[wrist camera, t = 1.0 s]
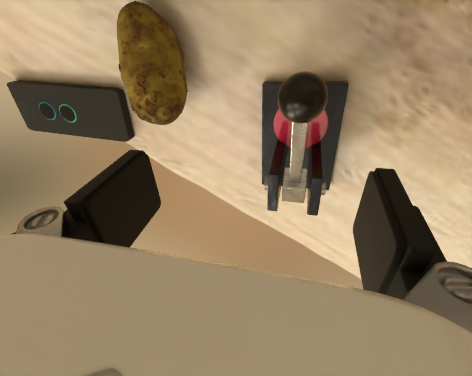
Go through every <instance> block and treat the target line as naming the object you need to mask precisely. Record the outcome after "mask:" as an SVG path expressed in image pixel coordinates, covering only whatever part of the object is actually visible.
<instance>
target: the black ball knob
mask: <svg viewBox="0 0 472 376" xmlns="http://www.w3.org/2000/svg"><path fill="white" fill-rule="evenodd" d="M327 101H328V90H327V87H326V84H325V83H324V81H323V80H322V79H321V78H320V77H319V76H318V75H316V74H314V73H311V72H299V73H296V74H293V75H292V76H290V77H289V78H287V79H286V80H285V82H284V83H283V84H282V86H281V88H280V90H279V93H278V107H279V109H280V112H281V113H282V115H283V116H284V117H285V118H286V119H288V120H289V121H291V122H292V134H291V153H290V168H286V167H285V171H284V179H283V191H282V201H289V202H299V203H304V198H305V192H306V182H307V169H302V167H303V159H304V151H305V143H306V135H307V127H308V122H311V121H313V120H315V119H316V118H317V117H318V116H320V114H321V113H322V112H323V111H324V109H325V107H326V104H327Z"/></svg>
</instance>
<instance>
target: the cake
mask: <svg viewBox="0 0 472 376" xmlns="http://www.w3.org/2000/svg"><path fill="white" fill-rule="evenodd" d="M327 127H328V116H327V112H326V109H324V111H323V112H322V113H321V114H320V116H318V117H317V118H316V119H315V120H313V121H311V122H308V127H307V135H306V143H305V148H308V147H311V146H312V144H316V143H318V142H319V141H320V140H321V139H322V138H323V136H324V135H325V133H326V131H327ZM274 131H275V134H276V136H277V137H278V139H279V140H280V141H281V142H282V143H285V145H286V146H288V147H291V134H292V122H291V121H289V120H288V119H286V118H285V117H284V116H283V115H282V113H281V112H280V109H278V110H277V112H276V115H275V118H274Z"/></svg>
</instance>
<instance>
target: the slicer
mask: <svg viewBox="0 0 472 376" xmlns="http://www.w3.org/2000/svg"><path fill="white" fill-rule="evenodd" d="M283 83H284V82H264V83H263V97H262V184H264V188H265V190H268V208H267V209H268V210H271V211H277V208H278V203H279V197H280V191H281V186H283V179H284V171H285V167H286V168H290V153H291V147H288V146H286V145H285V143H282V142H281V141H280V140H279V139H278V137H277V136H276V134H275V131H274V118H275V115H276V112H277V110H278V109H279V107H278V93H279V90H280V88H281V86H282V84H283ZM324 83H325V84H326V87H327V90H328V101H327V104H326V107H325V109H326V112H327V116H328V127H327V131H326V133H325V135H324V136H323V138H322V139H321V140H320V141H319V142H318V143H316V144H312V146H311V147H308V148H305V151H304V159H303V167H302V169H307V182H306V188H308V201H307V214H308V215H318V209H319V203H320V197H321V195H325V192H326V190H329V187H330V181H331V176H332V170H333V165H334V160H335V154H336V149H337V143H338V138H339V133H340V127H341V122H342V117H343V111H344V106H345V100H346V95H347V90H348V82H347V81H338V82H324Z"/></svg>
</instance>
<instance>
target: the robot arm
mask: <svg viewBox="0 0 472 376" xmlns="http://www.w3.org/2000/svg"><path fill="white" fill-rule="evenodd" d="M64 203H65V205H66V207H67V210H66V211H65V212H64V211H63V209H62V208H60V207H56V206H52V207H46V208H42V209H39V210H36V211H35V212H32V213H30V214H29V215H27V216H26V217H24V219H22V220H21V221H20V223H19V225H18V228H17V231H16V232H15V233H12V234H9V235H2V236H0V376H472V268H470V267H467V266H465V265H462V264H458V263H455V262H447V261H446V259H445V257H444V255H443V253H442V251H441V249H440V247H439V246H438V244H437V242H436V240H435V238H434V236H433V234H432V232H431V230H430V229H429V227H428V225H427V223H426V221H425V219H424V217H423V215H422V213H421V212H420V210H419V209H418V207H416V206H413V205H412V203H411V201H410V199H409V197H408V195H407V193H406V191H405V189H404V187H403V185H402V183H401V181H400V179H399V177H398V176H397V174H396V172H395V170H394V169H383V168H376V169H375V171H374V172H372V171H370V172H369V174H368V177H367V181H366V184H365V188H364V191H363V194H362V198H361V201H360V204H359V208H358V211H357V215H356V218H355V221H354V225H353V234H354V240H355V245H356V251H357V256H358V262H359V267H360V273H361V278H362V284H363V289H364V290H362V289H358V288H353V287H349V286H343V285H339V284H334V283H329V282H323V281H318V280H312V279H307V278H302V277H297V276H291V275H285V274H279V273H273V272H268V271H263V270H257V269H251V268H246V267H240V266H234V265H229V264H223V263H217V262H211V261H206V260H199V259H193V258H188V257H182V256H176V255H170V254H164V253H159V252H153V251H147V250H141V249H135V248H129V247H130V246H131V245H132V244H133V242H134V241H135V240H136V238H137V237H138V236H139V234H140V233H141V232H142V230H143V229H144V228H145V226H146V225H147V224H148V222H149V221H150V220H151V218H152V217H153V216H154V214H155V213H156V212H157V211H158V209H159V208H160V205H161V200H160V196H159V192H158V189H157V186H156V181H155V178H154V174H153V171H152V167H151V163H150V159H149V156H148V155H147V154H145V152H144V151H140V150H129V151H128V152H127V153H125V154H124V155H123V156H121V157H120V158H119V159H118V160H117V161H115V162H114V163H113V164H111V165H110V166H109V167H107V168H106V169H105V170H104V171H102V172H101V173H100V174H99V175H97V176H96V177H95V178H93V179H92V180H91V181H90V182H88V183H87V184H86V185H85V186H83V187H82V188H81V189H79V190H78V191H77V192H76V193H74V194H73V195H72V196H70V197H69V198H68V199H67V200H66V201H64Z"/></svg>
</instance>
